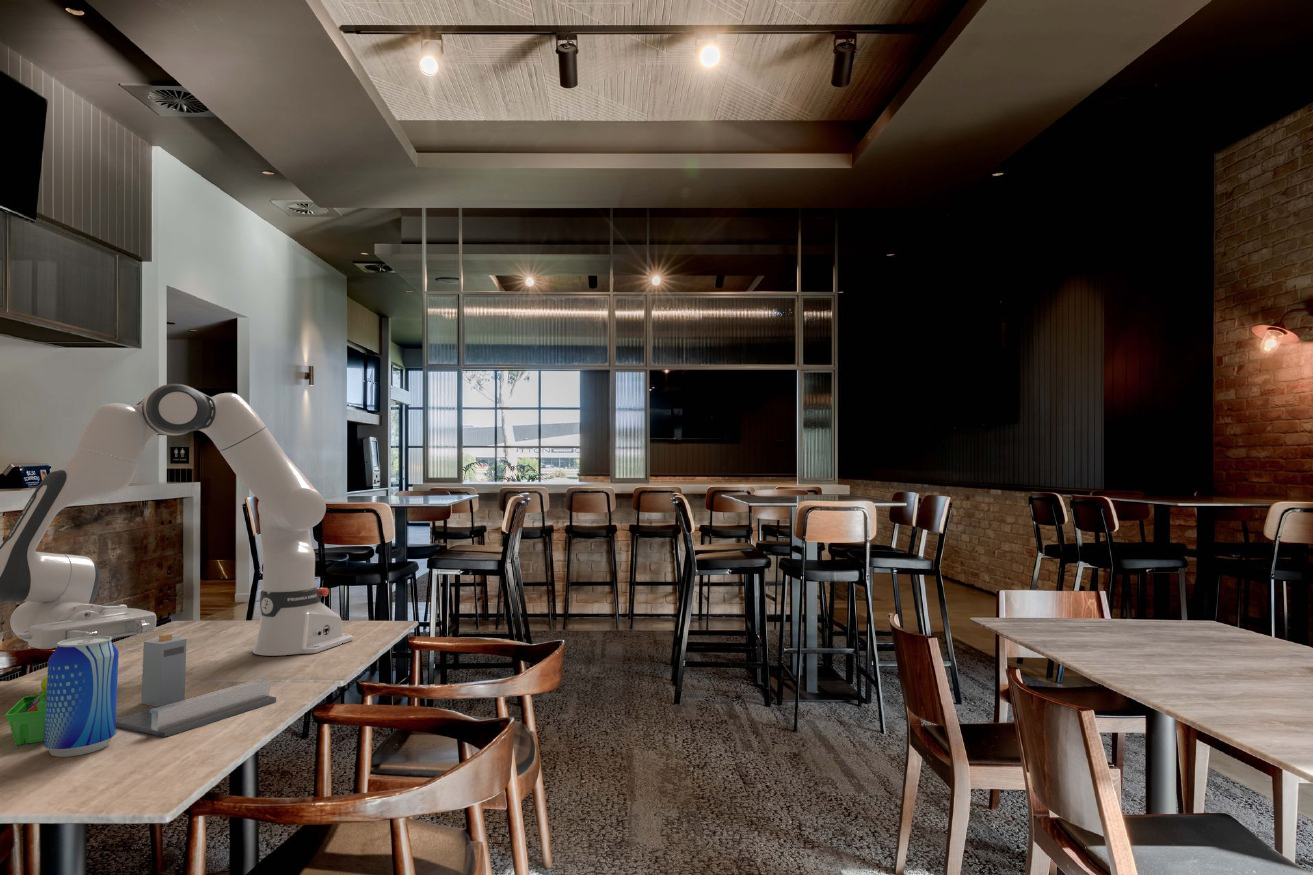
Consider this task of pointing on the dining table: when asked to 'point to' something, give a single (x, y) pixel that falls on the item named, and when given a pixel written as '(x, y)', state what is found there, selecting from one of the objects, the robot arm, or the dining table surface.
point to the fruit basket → (29, 717)
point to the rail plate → (147, 716)
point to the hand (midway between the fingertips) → (120, 632)
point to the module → (163, 670)
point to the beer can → (81, 696)
